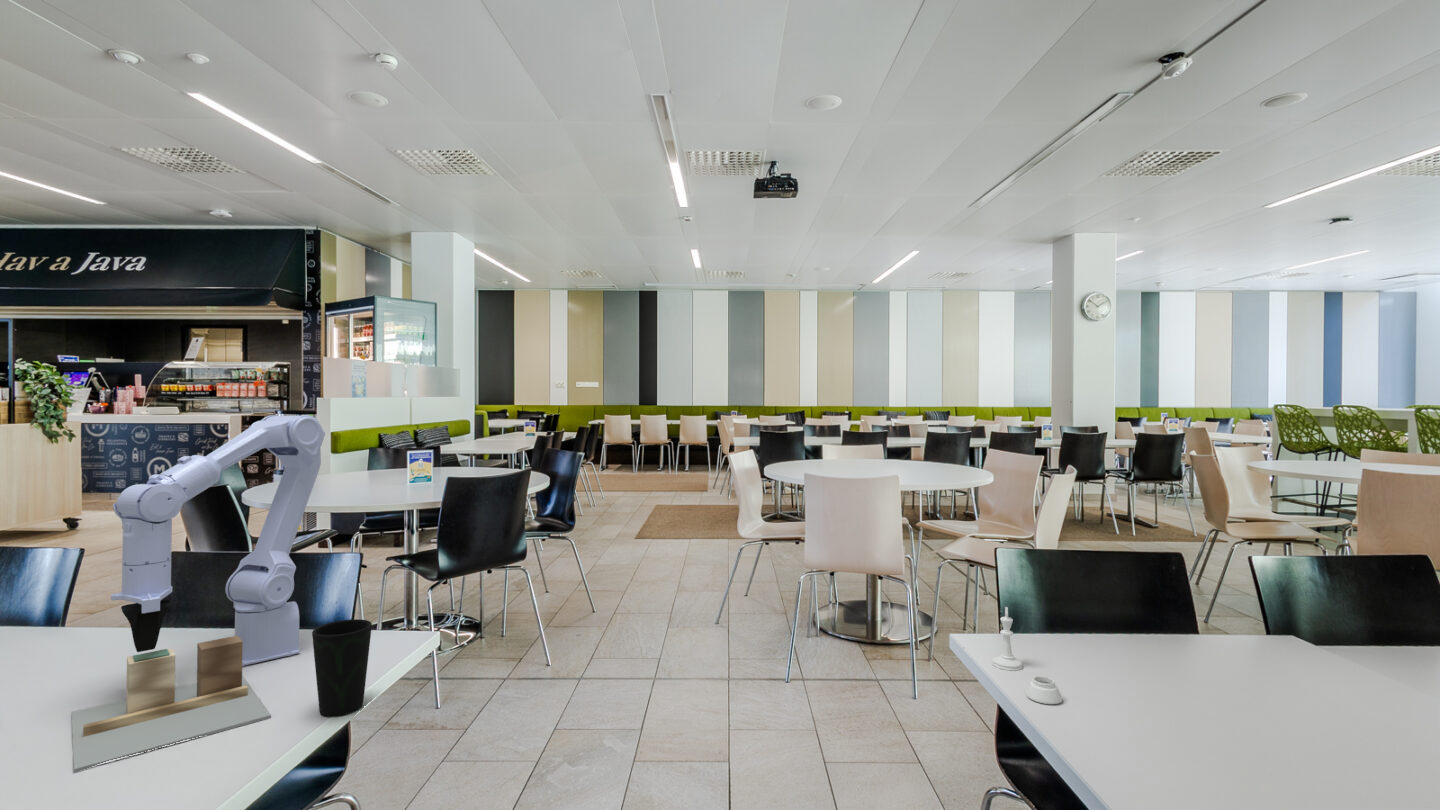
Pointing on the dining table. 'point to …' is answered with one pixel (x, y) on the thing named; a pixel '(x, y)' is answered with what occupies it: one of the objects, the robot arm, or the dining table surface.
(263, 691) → the dining table surface
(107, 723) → the oak rail
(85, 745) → the grey mat
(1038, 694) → the white jar
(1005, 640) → the chess piece
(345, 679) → the cup
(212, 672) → the walnut block
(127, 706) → the beech block
